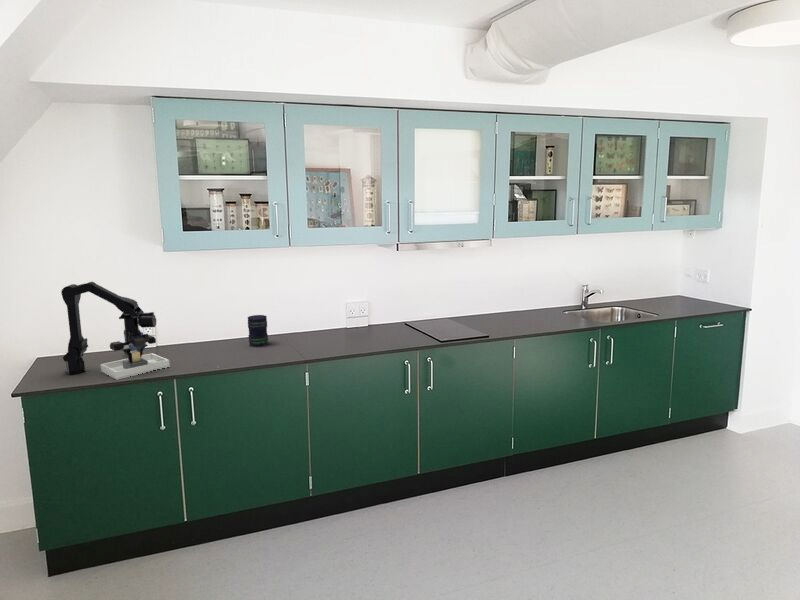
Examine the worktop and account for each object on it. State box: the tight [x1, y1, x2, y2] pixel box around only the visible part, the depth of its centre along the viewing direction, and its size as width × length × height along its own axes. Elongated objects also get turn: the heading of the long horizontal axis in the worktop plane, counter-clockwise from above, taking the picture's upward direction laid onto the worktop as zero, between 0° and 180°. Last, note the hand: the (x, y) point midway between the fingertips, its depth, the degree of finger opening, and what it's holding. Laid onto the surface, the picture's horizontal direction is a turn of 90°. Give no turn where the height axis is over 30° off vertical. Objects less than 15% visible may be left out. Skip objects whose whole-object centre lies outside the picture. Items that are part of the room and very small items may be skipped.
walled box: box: [100, 352, 171, 381], centre depth 276 cm, size 24×17×4 cm
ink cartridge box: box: [123, 331, 147, 356], centre depth 297 cm, size 10×6×14 cm, turn 51°
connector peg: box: [129, 350, 141, 363], centre depth 275 cm, size 4×4×6 cm
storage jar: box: [247, 314, 269, 348], centre depth 315 cm, size 10×10×15 cm
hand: (134, 361), depth 275 cm, fingers closed on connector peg, 4 cm apart
